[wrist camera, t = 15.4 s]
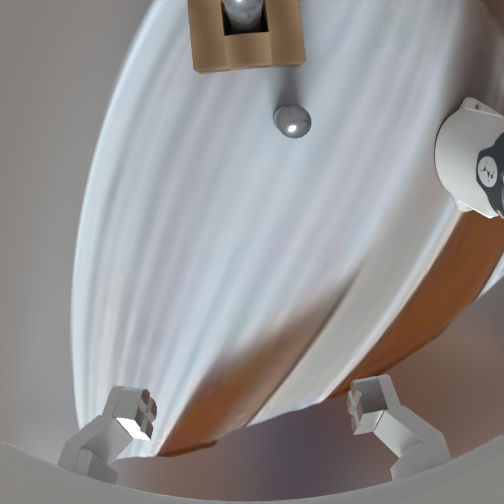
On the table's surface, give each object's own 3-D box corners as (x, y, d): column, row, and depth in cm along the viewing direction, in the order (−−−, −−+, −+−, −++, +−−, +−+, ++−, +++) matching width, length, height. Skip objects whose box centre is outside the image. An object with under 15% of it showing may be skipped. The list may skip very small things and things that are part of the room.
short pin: (300, 105, 33) (310, 105, 27) (301, 131, 34) (312, 137, 28) (272, 106, 33) (276, 106, 27) (274, 133, 35) (278, 139, 28)
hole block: (289, -13, 25) (293, -28, 20) (298, 66, 30) (305, 60, 26) (194, -5, 25) (186, -18, 21) (201, 74, 31) (193, 69, 26)
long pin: (258, 13, 27) (261, -32, 14) (261, 37, 28) (265, 0, 16) (230, 16, 27) (217, -28, 15) (232, 39, 29) (220, 4, 16)
